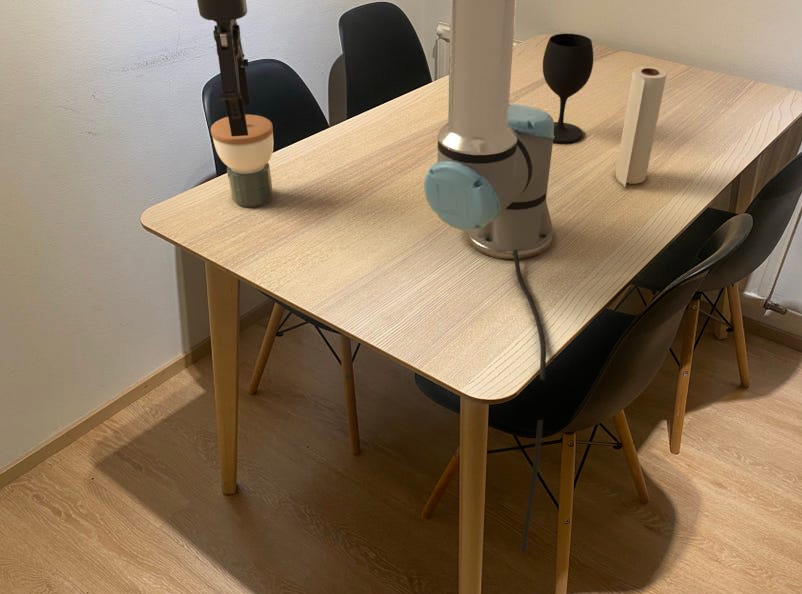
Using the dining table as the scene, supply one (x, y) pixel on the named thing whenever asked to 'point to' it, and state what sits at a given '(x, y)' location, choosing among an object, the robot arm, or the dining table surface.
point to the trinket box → (244, 144)
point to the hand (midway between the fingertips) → (241, 119)
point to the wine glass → (567, 76)
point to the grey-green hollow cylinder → (251, 187)
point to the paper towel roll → (640, 124)
